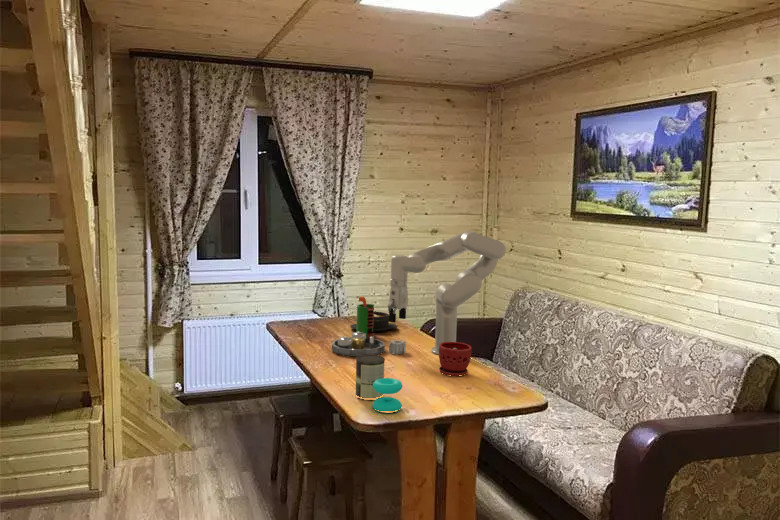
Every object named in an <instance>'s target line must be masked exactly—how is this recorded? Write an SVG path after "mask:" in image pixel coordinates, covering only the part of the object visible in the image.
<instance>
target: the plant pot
mask: <svg viewBox="0 0 780 520" xmlns="http://www.w3.org/2000/svg"><path fill="white" fill-rule="evenodd" d="M449 348H451V349H449ZM453 348H457V350H455V349H453ZM471 358H472V346H471V345H470V344H467V343H465V342H458V341H456V342H443V343H441V344H440V345H439V354H438V360H439V363H440V367H438V370H439V372H440V373H441V374H442V373H443V374H442V375H444V374H445V375H444V376H447V375H451V376H450V377H452V376H459V375H464V374H465V375H467V374H468V371H469V370H468V367H469V364H470V361H471ZM466 373H467V374H466ZM465 375H464V376H465ZM459 377H460V376H459Z"/></svg>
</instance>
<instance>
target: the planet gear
mask: <svg viewBox="0 0 780 520" xmlns="http://www.w3.org/2000/svg"><path fill="white" fill-rule="evenodd" d="M388 343H389V344H388V345H389V346H388V349H389V350H388V353H389V354H392V355H393V354H395V355H398V354H401V355H405V354H406V352H407V351H406V348H407V347H406V346H407V343H406V341H405V340H402V339H401V340H398V339H394V340H389V342H388ZM402 353H403V354H402ZM404 353H405V354H404Z"/></svg>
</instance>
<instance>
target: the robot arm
mask: <svg viewBox="0 0 780 520" xmlns="http://www.w3.org/2000/svg"><path fill="white" fill-rule="evenodd" d="M506 249H507V248H506V245H505V244H504V242H502V241H500V240H497V239H494V238H491V237H488V236H486V235H483V234H480V233H477V232H475V231H472V230H466V231H462V232H461V233H458V234H456V235H455V236H452V237H450V238H447V239H446V240H443V241H440V242H438V243H435V244H433V245H430V246H427V247H425V248H422V249H420V250H418V251H416V252H413V253H411V254H409V255H408V256H407V255H401V254H400V255H399V254H396V255H395V254H394V255H392V256H391V258H390V259H391V260H390V261H391V263H390V283H389V284H390V285H389V286H390V290H389V291H390V292H389V301H388V304H387V310H388V315H389V323H393V324H395V323H396V322H397V321H396V320H397V310H398V318H399V319H400V320H401V319H402V320H405V319H407V318H406V317H407V307H408V303H409V295H408V294H409V293H408V290H409V289H408V272H409V273H415V274H416V273H417V274H420V273H422V272H424V271H425V269H426V267H427V265H429V264H432V263H436V262H441V261H447V260H451V259H453V258H455V257H458V256H459V255H461V254H464V253H466V252H469V251H470V252H471V253H474V254H477V255H480V256H479V257H478V259H477V260H476V261H475V262H474V263H472V264H471V265H470V266H468V267H467V268H465V269H464V270H462V271H461V272H459V273H458V274H457V276H456V278H455V282H454V283H453V284H451V283H448V282H446V283H442V284H440V285H438V287H437V289H436V291H435V337H434V340H435V341H434V347H432V348H431V353H432V354H436V355H439V345H440V344H441V343H443V342H457V323H458V307H459V306H461V305H462V304H464V303H465V302H467V301H468V300H470V299H471V298H472V297H474V296H475V295H476V294H478V292H479V291H480V290H481V289H482V286H483V285H482V284H483V283H482V282H483V280H485V279H486V278H487V277H489V276H490V275H491V274H492V273H493V272H494V271H495V269H496V267H497V265H498V260H500V259H502V258H503V257H504V256H505V255H506V252H507V251H506ZM449 349H451V348H449ZM453 349H455V350H457V348H453Z"/></svg>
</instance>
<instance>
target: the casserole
mask: <svg viewBox="0 0 780 520" xmlns="http://www.w3.org/2000/svg"><path fill="white" fill-rule="evenodd" d="M373 318H374V321H373V322H374V324H373V325H374V327H373V332H374V333H381V332H385V331H387V330H393V329H397V328H398V325H397V324H395V323H393V322H389V313H387V312H384V311H374V317H373ZM356 326H357V323H353V324H351V325H350V326H349V327H350V328H351V329H352V330H356Z"/></svg>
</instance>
